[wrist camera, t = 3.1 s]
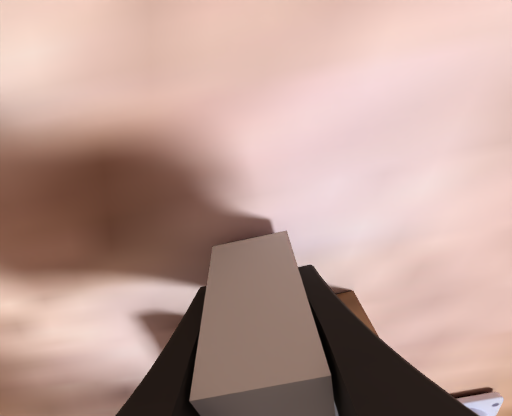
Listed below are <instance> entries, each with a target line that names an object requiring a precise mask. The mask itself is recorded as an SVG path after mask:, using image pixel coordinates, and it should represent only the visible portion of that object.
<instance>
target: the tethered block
mask: <svg viewBox="0 0 512 416" xmlns="http://www.w3.org/2000/svg"><path fill="white" fill-rule="evenodd" d="M189 401H190V403H191V404H192V405H193V407H194V408H195V409H196V410H197V412H198V413H199V414H200V416H339V415H338V412H337V408H336V405H335V402H334V397H333V388H332V379H331V373H330V370H329V367H328V364H327V360H326V357H325V354H324V351H323V347H322V344H321V341H320V338H319V334H318V331H317V328H316V325H315V321H314V318H313V315H312V312H311V308H310V305H309V302H308V299H307V295H306V292H305V289H304V286H303V282H302V279H301V276H300V273H299V269H298V266H297V263H296V260H295V256H294V253H293V250H292V247H291V243H290V240H289V237H288V234H287V231H283V232H278V233H273V234H269V235H264V236H259V237H254V238H250V239H245V240H240V241H236V242H231V243H226V244H222V245H217V246H212V253H211V260H210V266H209V273H208V280H207V286H206V293H205V300H204V306H203V313H202V320H201V327H200V333H199V340H198V347H197V353H196V360H195V367H194V373H193V380H192V387H191V393H190V400H189Z"/></svg>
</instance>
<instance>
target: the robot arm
mask: <svg viewBox="0 0 512 416" xmlns="http://www.w3.org/2000/svg"><path fill="white" fill-rule="evenodd" d="M298 269H299V273H300V276H301V279H302V282H303V286H304V289H305V292H306V295H307V299H308V302H309V305H310V308H311V312H312V315H313V318H314V321H315V325H316V328H317V331H318V334H319V338H320V341H321V344H322V347H323V351H324V354H325V357H326V360H327V364H328V367H329V370H330V373H331V379H332V388H333V397H334V402H335V405H336V408H337V412H338V415H339V416H496V414H497V412H498V410H499V408H500V406H501V404H502V402H503V397H502V396H501V395H500V394H499V393H498V392H491V393H485V394H479V395H474V396H468V397H462V398H454V397H453V396H452V395H450V394H449V393H447V392H446V391H445V390H443V389H442V388H441V387H439V386H438V385H437V384H435V383H434V382H433V381H431V380H430V379H429V378H427V377H426V376H425V375H423V374H422V373H421V372H420V371H418V370H417V369H416V368H415V367H413V366H412V365H411V364H410V363H408V362H407V361H406V360H405V359H403V358H402V357H401V356H400V355H399V354H397V353H396V352H395V351H394V350H393V349H392V348H390V347H389V346H388V345H387V344H386V343H385V342H383V341H382V340H381V339H380V338H379V337H378V336H377V335H376V334H375V333H373V332H372V331H371V330H370V329H369V328H368V327H367V326H366V325H365V324H364V323H363V322H362V321H361V320H360V319H359V318H358V317H357V316H356V315H355V314H354V313H353V312H352V311H351V310H350V309H349V308H348V307H347V306H346V305H345V304H344V303H343V302H342V301H341V300H340V299H339V297H338V296H337V295H336V294H335V293H334V292H333V291H332V290H331V288H330V287H329V286H328V285H327V284H326V282H325V281H324V280H323V279H322V277H321V276H320V275H319V273H318V272H317V271H316V269H315V268H314V266H312V265H307V266H302V267H298ZM205 293H206V286H204V287H200V289H199V290H198V292H197V294H196V296H195V297H194V299H193V301H192V303H191V305H190V306H189V308H188V310H187V312H186V313H185V315H184V317H183V318H182V320H181V322H180V323H179V325H178V327H177V328H176V330H175V332H174V333H173V335H172V337H171V338H170V340H169V342H168V343H167V345H166V346H165V348H164V349H163V351H162V352H161V354H160V355H159V357H158V358H157V360H156V361H155V363H154V364H153V366H152V367H151V369H150V370H149V372H148V373H147V375H146V376H145V377H144V379H143V380H142V382H141V383H140V384H139V386H138V387H137V388H136V390H135V391H134V392H133V394H132V395H131V396H130V398H129V399H128V400H127V402H126V403H125V404H124V406H123V407H122V408H121V409H120V411H119V412H118V413H117V414H116V415H115V416H200V414H199V413H198V412H197V410H196V409H195V408H194V407H193V405H192V404H191V403H190V401H189V400H190V393H191V387H192V380H193V373H194V367H195V360H196V353H197V347H198V340H199V333H200V327H201V320H202V313H203V306H204V300H205Z"/></svg>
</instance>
